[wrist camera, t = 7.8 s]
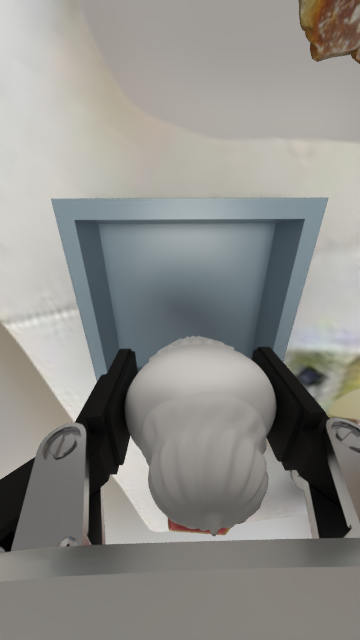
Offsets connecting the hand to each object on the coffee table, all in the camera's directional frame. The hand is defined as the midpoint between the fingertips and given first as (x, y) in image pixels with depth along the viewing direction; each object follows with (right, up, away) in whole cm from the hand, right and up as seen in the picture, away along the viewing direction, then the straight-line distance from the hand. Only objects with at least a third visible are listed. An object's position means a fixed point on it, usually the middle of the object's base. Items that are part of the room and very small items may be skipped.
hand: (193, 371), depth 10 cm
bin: (0, +5, +10) cm, 11 cm away
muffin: (0, +1, +1) cm, 1 cm away
